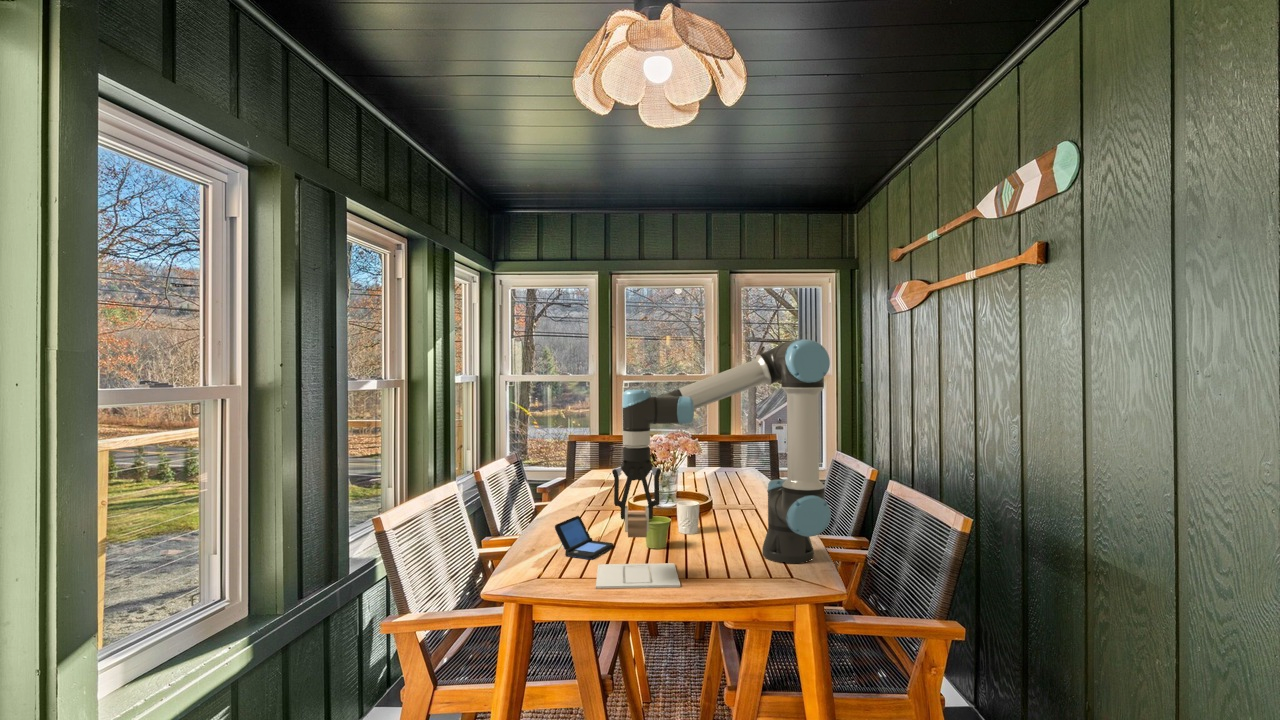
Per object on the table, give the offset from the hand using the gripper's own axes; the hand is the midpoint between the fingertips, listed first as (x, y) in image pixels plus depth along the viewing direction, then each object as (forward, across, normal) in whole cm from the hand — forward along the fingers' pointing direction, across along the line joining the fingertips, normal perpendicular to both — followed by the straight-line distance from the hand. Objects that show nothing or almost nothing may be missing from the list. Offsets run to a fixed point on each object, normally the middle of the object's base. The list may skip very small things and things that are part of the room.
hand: (636, 530), depth 175 cm
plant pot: (+13, -7, -28) cm, 32 cm away
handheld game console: (+13, +16, -25) cm, 32 cm away
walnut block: (0, 0, 0) cm, 0 cm away
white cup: (+13, -19, -45) cm, 50 cm away
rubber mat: (+13, 0, 0) cm, 13 cm away
